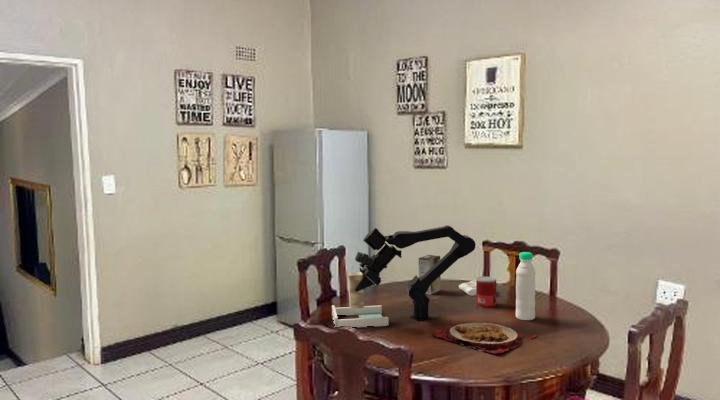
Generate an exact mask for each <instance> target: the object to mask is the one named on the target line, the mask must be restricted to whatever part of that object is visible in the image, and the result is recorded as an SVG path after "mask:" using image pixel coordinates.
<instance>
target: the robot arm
mask: <svg viewBox="0 0 720 400" xmlns="http://www.w3.org/2000/svg"><path fill="white" fill-rule="evenodd" d="M443 238H449V239H451V240H452V241H453V242H454V243H453V245H452V246H451V248H450V250H449V251H448V252H447V253H446V254H445V255H444V256H443V257H442V258H440V261H438V262H437V263H436V264H435V265H434V266H433V267H432V268H431V269H430V270H429V271H428V272H427V273H425V274H424V275H423V276H421V277H419V276H417V275H415V276H413V278H412V279H410V280H409V281H408V284H407V286H406V292H407V294H408V297H409V298H410V299H411V300H412V303H411V304H412V309H411V310H412V313H411V314H409V315H408V317H409V318H411V319H414V321H415V320H416V321H418V322H419V321H425V320H430V319H433V317H432V316H431V315H429V303H430V301H431V299H430V298H429V296H428V294H426V292H427V291H428V289H429V287H430V285H431V284H432V283H433V282H434V281H435V280H436V279H437V278H438V277H439V276H440V277H441V275H443V274H444V273H445V272H446V271H447V270H448V269H449V268H450V267H452V265H454V264H455V263H456V262H457V261H458V260H459V259H461V258H464V257H466V256H468V255H469V254H471V253H472V252H474V251H475V250H476V242H475V240H474V239H473V238H471V237H470V236H468V235H465V234H464V235H463V234H461V233H460V232H458V231H457V230H455V228H453V227H452V225H451V226H450V225H444V226H439V227H434V228H429V229H423V230H418V231H410V230H409V231H407V230H405V231H404V230H402V231H401V230H398V231H396V232H394V233H393V234H391V235H389V234H388V235H386V236H385V235H384V234H383V233H381V232H380V230H379V229H378V228H377V227H375V228H373V230H371V231H370V232H368V233H367V234H366V235H365V237H364V238H363V240H362V241H363V242H364V243H365V244H366V245H367V246H369V247H370V249H372V250H373V251H375V250H376V251H378V252H377V253H376V254H373V255H372V256H370V255H369V253H368V254H367V253H364V252H360V251H357V253H356V256H355V258H354V260H355V262H358V263H359V267H358V269H359V272H361V273H362V280H361V281H360V282H359V284H358V285H357V287H356V289H355V291H356V292H358V291H360V290H362V289H363V290H365V289H366V288H370V287H372V286H375V285H376V286H379V285H380V284H381V282H382V278H381V277H380V275H381V274H380V273H382V271H383V270H384V269H387V268H388V265H389V264H390V263H391V261H393V259H394V258H395V257H396V256H397V257H398V258H400V259H402V250H401V249H405V248H408V247H411V246H413V245H415V244H417V243H422V242H427V241H432V240H433V241H434V240H438V239H443ZM389 245H391V246H389Z"/></svg>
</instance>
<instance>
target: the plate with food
mask: <svg viewBox="0 0 720 400" xmlns="http://www.w3.org/2000/svg"><path fill="white" fill-rule="evenodd" d="M435 328H437V329H441V328H443V329H441V331H438V332H437V331H435V332H432V333H431V332H430V334H431V335H432V336H434V337H436V338H441V339H444V341H447V342H454V343H457V344H460V346H464V344H463V343H461V342H460V341H464V342H467V343H470V346H469V345H468V346H467V347H468V348H472V349H473V350H474V349H475V350H477V351H479V352H486V353H491V354H497V355H498V354H502V353H504V352H507V351H509V350H512V349H515V348H517V347H518V348H519V347H520V345H522V342H521V341H520V340H521V338H524V337H525V334H521V333H520V332H517V331H516V330H514V329H513V328H511V327H507V326H505V325H503V324H499V323H498V324H497V323H493V322H488V321H486V322H481V321H480V322H478V321H476V322H473V321H471V322H464V323H459V324H455V325H451V324H450V325H445V327H444V326H443V325H440V326H434V329H435ZM529 335H530V336H529V337H530V338H529V339H530V340H528V341H527V340H526V343H528V342H529V341H532V339H533V338H536V337H537V334H532V333H529ZM457 340H458V341H457ZM459 340H460V341H459ZM491 350H492V351H491Z"/></svg>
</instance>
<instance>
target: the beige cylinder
mask: <svg viewBox="0 0 720 400" xmlns="http://www.w3.org/2000/svg"><path fill="white" fill-rule="evenodd" d="M347 276H348V277H347V278H348V279H347V282H348V301H349V302H348V304H349V307H350V308H351V309H353V308H364V306H365V300H364V298H365V296H364V295H365V294H364V289H362V290H360V291H358V292H356V291H355V289H356V287H357V285H358V284H359V282H360V281H361V280H362V273H361V272H360V271H355V272H348V273H347Z"/></svg>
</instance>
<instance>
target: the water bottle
mask: <svg viewBox="0 0 720 400" xmlns="http://www.w3.org/2000/svg"><path fill="white" fill-rule="evenodd" d="M518 256H519V257H518V258H519V260H520V263H519V264H518V266H517V268H516V269H515V270H516V271H515V274H516V277H515V278H516V279H515V317H516V319H518V320H521V321H532V320H534V319H535V318H536V309H535V308H536V269H535V268H534V264H533V263H532V261H533V256H534V255H533V253H532V252H529V251H522V252H519V255H518Z"/></svg>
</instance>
